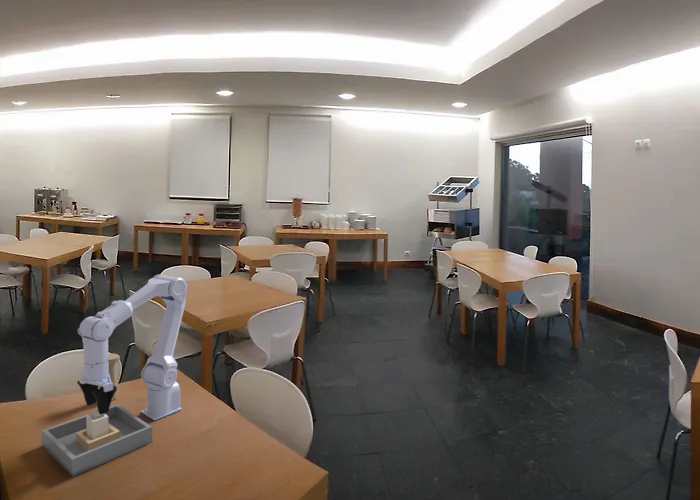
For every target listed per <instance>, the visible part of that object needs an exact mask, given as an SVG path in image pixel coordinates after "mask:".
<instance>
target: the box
mask: <svg viewBox="0 0 700 500" xmlns="http://www.w3.org/2000/svg"><path fill="white" fill-rule="evenodd" d="M95 412H98V410H97V411H94V412H92V413H95ZM92 413H88V414H86V415H82V416H80V417H77V418H73V419H70V420H68V421H65V422H62V423H60V424H57V425H53V426H50V427H47V428H44V429H42V430H41V443H42V444H41V446H42V447H43V449H45V450H46V452H48V453H49V455H51V456H52V457H53V458H54V459H55V461H57V463H59V465H61V466H62V468H63V469H64V470H65V471H66V472H67V473H68V474H70V476H71V477H76V476H78V475H80V474H83V473H85V472H87V471H89V470H91V469H94V468H96V467H99V466H101V465H103V464H104V463H107V462H110V461H112V460H115V459H117V458H119V457H122V456H123V455H126V454H128V453H130V452H133V451H134V450H137V449H139V448H141V447H144V446H146V445H148V444H151V443H152V442H153V426H152V425H150V424H148V423H147V422H146V421H144V420H142V419H141V418H139V417H138V416H137V415H135V414H134V413H133V412H131V411H129V410H128V409H126V408H124V407H123V406H121V405H120V404H118V403H117V404H114V405H112V406H111V405H110V407H109V411H108V412H107V413H104V414H106V415H107V416H108V423H109V434H107V435H104V436H102V437H99V438H96V439H94V440H90V439H88V438H87V427H86V417H88V416H90V414H92Z"/></svg>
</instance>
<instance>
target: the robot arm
mask: <svg viewBox="0 0 700 500" xmlns="http://www.w3.org/2000/svg"><path fill="white" fill-rule="evenodd" d="M188 288H189V285H188V284H187V283H186V280H185V279H184V278H182V277H176V276H169V275H163V274H161V273H160V274H159V273H158V274H156V275H154V276H153V277H152V278H150V279H148V281H147V283H145V285H143V286H142V287H141V288H140V289H138V290H137V291H135V292H134V293H133V294H131V295H130V296H129V297H128V298H127V299H125V300H123V299H119V300H113V301H112V302H111V305H109V306H108V307H106V308H105V309H103V310H101V311H98V312H96V314H95V316H88V317H85V318H84V319H83V320H82V321H81V322H80V324H79V328H77V333H78V335H79V336H81V338H82V344H83V346H82V347H83V366H84V367H83V369H81V378H80V379H79V380H77V385H78V386H79V387H80V389H81V391H82V394H83V397H84V401H85V404H86V405H87V406H90V405H93V404H96V405H97V406H96V407H97V411H98V412H99V414H100V415H101V414H104V413H107V412H108V411H109V407H111V404H112V401H113V400H112V397H113V395H114V394H115V392H116V390H117V391H118V386H117V387H116V386H113V383H112V382H111V379H110V374H109V362H108V354H109V338H110V337H111V335H112V334H113V332H114V330H115V329H116V328H117V327H118V326H119V325H121V324H122V323H124V322H126V321H127V320H128V319H129V318H131V317H132V315H133V312H134V310H135V309H137V308H139V307H140V306H142V305H144V304H145V303H146V302H148V301H150V300H152V299H153V298H155V297H159V298H160V299H161V300H162V301H163V302H164V304H165V306H166V307H165V310H164V315H163V320H162V321H161V322H162V323H161V326H160V330H159V335H158V339H157V343H156V347H155V349H154V354H153V355H151V356H150V357H148V358H147V360H146V363H145V365H144V366H143V368H142V370H141V373H140V376H141V377H140V378H141V380H142V381H143V382H145V384H144V385H145V387H146V408H145V409H142V410H141V412H140V413H142V414H143V415H145V416H147V417H148V418H149V419H151V420H153V421H157V420H159V419H161V418H164V417H167V416H169V415H171V414H174V413H176V412H179V411H181V410H183V409H182V407H181V388H180V384H179V383H178V382H177V381H176V380H177V377H178V362H177V361H176V360H175V358H174V353H175V348H176V344H177V339H178V337H179V332H180V328H181V324H182V319H183V315H184V311H185V307H186V302H187V301H186V296H187V293H188V292H187V291H188ZM111 400H112V401H111Z"/></svg>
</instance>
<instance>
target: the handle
mask: <svg viewBox="0 0 700 500" xmlns="http://www.w3.org/2000/svg"><path fill="white" fill-rule="evenodd" d="M120 359H121V356H120V355H119V354H117V353H109V352H108V362H109V374H110V379H111V382H112V383H113V386H116V387H117V388H118V378H117V377H118V376H117V363H118V362H119V361H120ZM117 391H118V389H117V390H116V392H115V394H114V395H113V397H112V400H111V402H112V401H114V400H116V399H117Z"/></svg>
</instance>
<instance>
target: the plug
mask: <svg viewBox="0 0 700 500" xmlns="http://www.w3.org/2000/svg"><path fill="white" fill-rule="evenodd" d="M94 412H95V413H94ZM94 412H92V414H91V413H89V414H90V416H88V417H86V427H87V438H88V439H90V440H94V439H96V438H99V437H102V436H104V435H107V434H109V423H108V416H107V415H106V414H101V415H100V414H99V412H97V411H94Z"/></svg>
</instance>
